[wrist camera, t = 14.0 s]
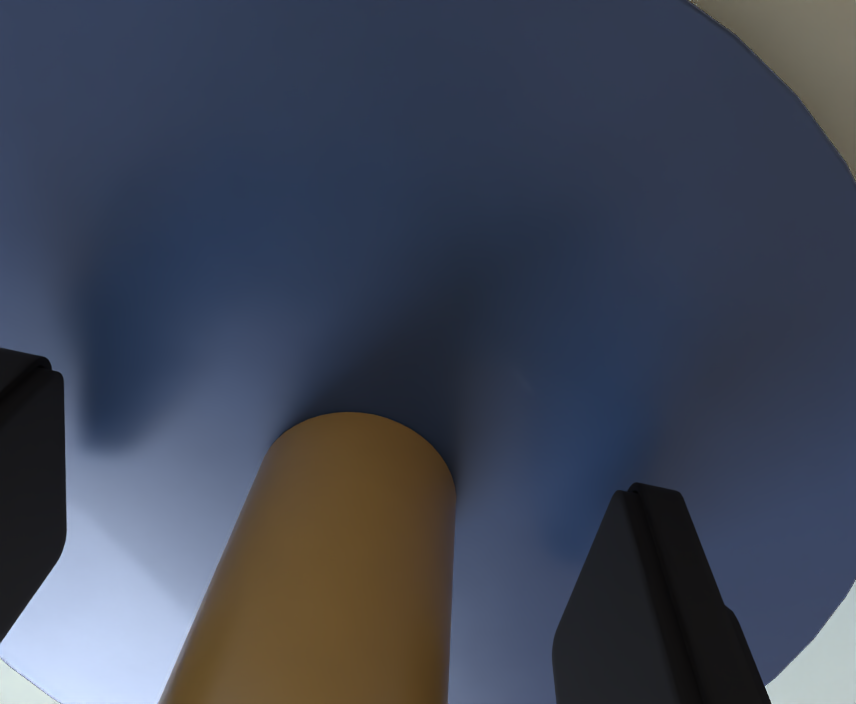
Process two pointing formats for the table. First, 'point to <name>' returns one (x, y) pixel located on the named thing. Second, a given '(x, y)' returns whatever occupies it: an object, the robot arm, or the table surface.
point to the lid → (413, 335)
